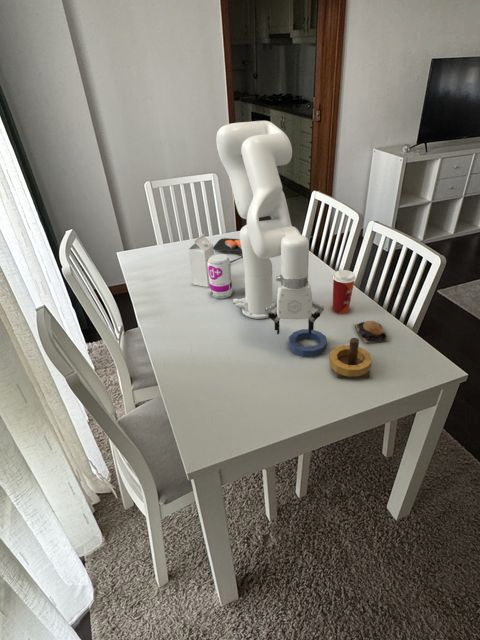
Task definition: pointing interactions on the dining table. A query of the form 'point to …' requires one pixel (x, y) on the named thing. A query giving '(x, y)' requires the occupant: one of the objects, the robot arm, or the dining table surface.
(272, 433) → the dining table surface
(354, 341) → the stand
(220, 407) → the dining table surface
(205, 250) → the milk carton
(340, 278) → the paper cup
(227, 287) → the supplement can
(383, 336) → the bun on tray
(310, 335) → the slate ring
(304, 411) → the dining table surface
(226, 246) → the sushi plate
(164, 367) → the dining table surface
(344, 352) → the brass ring
